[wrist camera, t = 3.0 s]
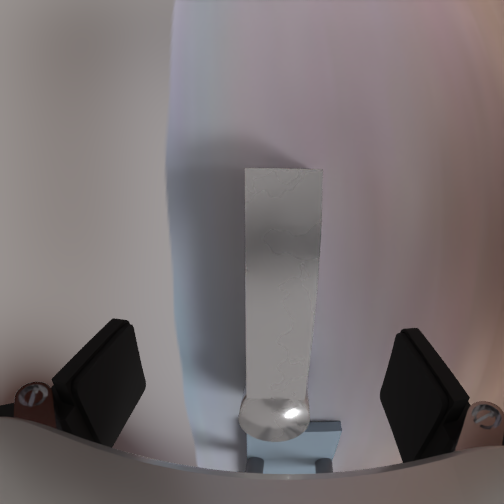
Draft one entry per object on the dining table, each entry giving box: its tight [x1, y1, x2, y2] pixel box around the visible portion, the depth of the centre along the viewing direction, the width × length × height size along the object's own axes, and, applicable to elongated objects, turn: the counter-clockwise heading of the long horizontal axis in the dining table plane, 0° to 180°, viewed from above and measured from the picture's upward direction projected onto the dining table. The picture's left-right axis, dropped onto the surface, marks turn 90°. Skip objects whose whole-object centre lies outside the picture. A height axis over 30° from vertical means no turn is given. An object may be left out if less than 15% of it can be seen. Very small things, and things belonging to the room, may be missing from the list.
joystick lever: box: [238, 168, 323, 442], centre depth 17 cm, size 17×5×4 cm, turn 0°
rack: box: [245, 421, 342, 474], centre depth 21 cm, size 18×8×7 cm, turn 0°
